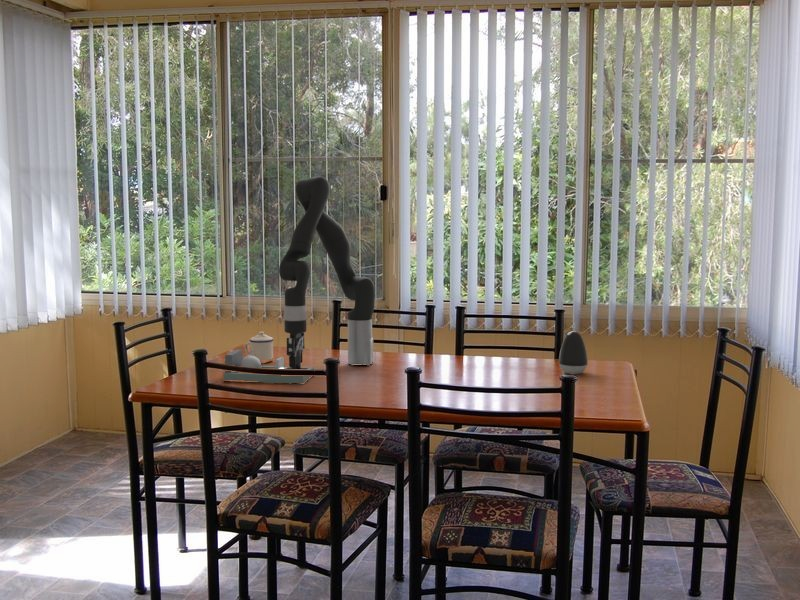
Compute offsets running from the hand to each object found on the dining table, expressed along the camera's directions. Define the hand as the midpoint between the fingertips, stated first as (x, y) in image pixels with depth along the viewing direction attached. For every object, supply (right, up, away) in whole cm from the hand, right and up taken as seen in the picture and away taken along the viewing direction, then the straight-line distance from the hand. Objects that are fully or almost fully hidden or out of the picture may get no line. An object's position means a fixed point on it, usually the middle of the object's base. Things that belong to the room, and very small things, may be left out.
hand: (296, 364), depth 287 cm
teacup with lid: (-19, -2, +34) cm, 39 cm away
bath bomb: (-16, -5, +3) cm, 17 cm away
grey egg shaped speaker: (+98, -4, +12) cm, 99 cm away
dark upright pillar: (-2, -5, +1) cm, 5 cm away
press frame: (-9, -5, +2) cm, 11 cm away
